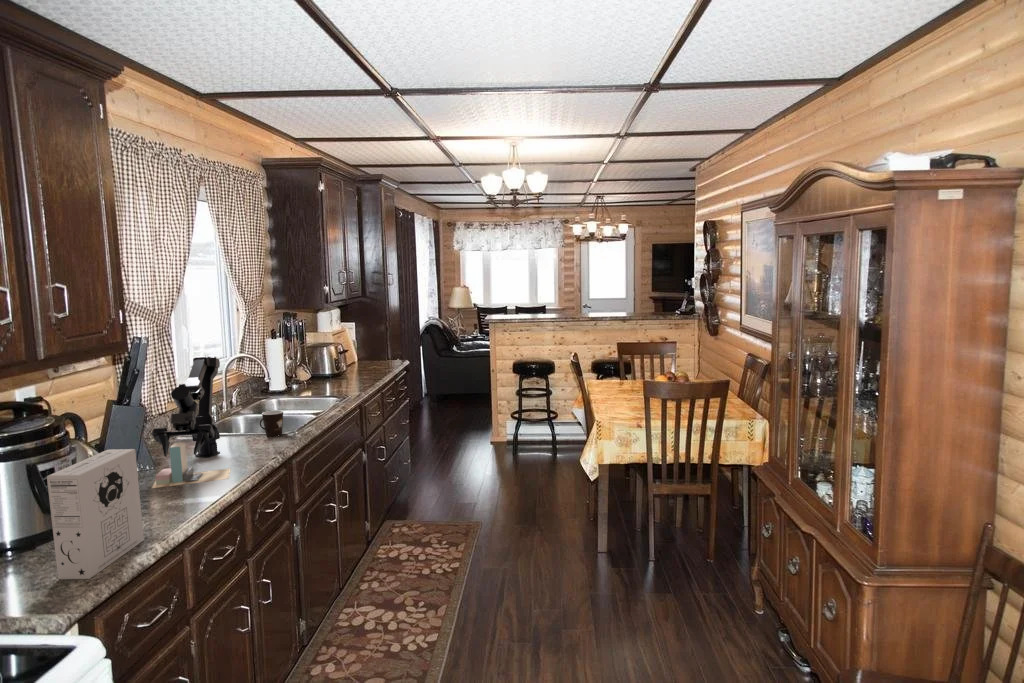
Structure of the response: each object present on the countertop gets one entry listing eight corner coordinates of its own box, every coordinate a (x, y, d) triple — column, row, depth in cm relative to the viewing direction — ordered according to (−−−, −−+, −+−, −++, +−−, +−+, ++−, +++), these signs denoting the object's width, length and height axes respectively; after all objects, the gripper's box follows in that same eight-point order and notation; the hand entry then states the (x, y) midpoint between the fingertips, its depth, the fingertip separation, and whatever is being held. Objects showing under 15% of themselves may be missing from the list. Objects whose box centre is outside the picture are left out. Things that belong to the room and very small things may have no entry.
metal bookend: (191, 475, 223) (190, 467, 222) (202, 474, 223) (202, 466, 223) (184, 482, 216) (184, 473, 216) (197, 481, 217) (196, 472, 216)
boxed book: (178, 477, 221) (175, 442, 220) (188, 476, 222) (185, 441, 221) (172, 482, 215) (169, 447, 214) (182, 482, 216) (179, 446, 215)
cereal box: (116, 540, 173) (107, 449, 170) (144, 540, 173) (135, 448, 170) (57, 580, 151) (45, 475, 148) (89, 579, 151) (78, 475, 148)
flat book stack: (164, 477, 222) (163, 468, 221) (177, 476, 222) (176, 467, 222) (156, 484, 214) (155, 476, 213) (169, 483, 215) (168, 475, 214)
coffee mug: (279, 431, 285) (277, 409, 284) (288, 434, 279) (286, 412, 278) (253, 437, 277) (251, 414, 276) (261, 440, 271) (260, 417, 270)
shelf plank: (151, 491, 211) (151, 488, 211) (158, 480, 222) (157, 477, 222) (228, 482, 218) (228, 478, 218) (231, 471, 230) (230, 468, 230)
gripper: (150, 404, 221) (142, 445, 211) (209, 401, 224) (203, 441, 215) (160, 421, 229) (152, 461, 220) (217, 418, 233) (211, 457, 223)
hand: (180, 455), depth 219 cm, fingers open, 9 cm apart
